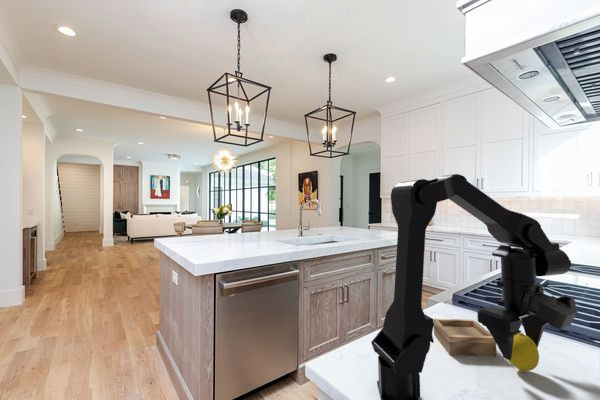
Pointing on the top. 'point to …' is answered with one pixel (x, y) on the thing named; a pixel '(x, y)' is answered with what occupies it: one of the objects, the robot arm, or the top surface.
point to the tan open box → (464, 337)
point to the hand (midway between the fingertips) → (521, 353)
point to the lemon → (524, 353)
